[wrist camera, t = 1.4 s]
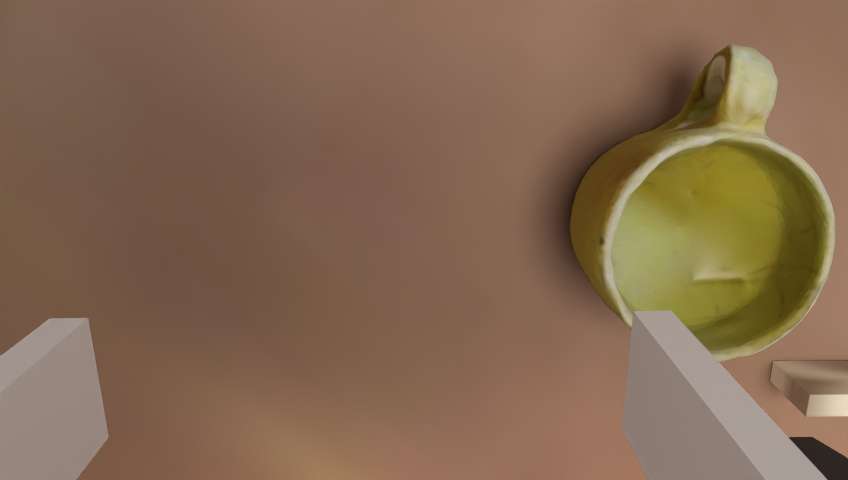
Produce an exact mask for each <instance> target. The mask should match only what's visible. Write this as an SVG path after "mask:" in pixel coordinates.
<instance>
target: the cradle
mask: <svg viewBox="0 0 848 480" xmlns="http://www.w3.org/2000/svg"><path fill="white" fill-rule="evenodd" d="M770 382H771V383H772V384H773V385H774V386H775V387H776V388H777V389H778V390H779V391H780V392H781V393H782V394H783V395H785V396H786V397H787V398H788V399H789V400H790V401H791V402H792V403H793V404H794V405H795V406H796V407H797V408H798V409H799V410H800V411H801V412H802V413H803V414H804V415H805V416H848V361H773V365H772V371H771V377H770Z"/></svg>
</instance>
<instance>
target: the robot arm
mask: <svg viewBox="0 0 848 480" xmlns="http://www.w3.org/2000/svg"><path fill="white" fill-rule="evenodd" d="M622 431H623V433H624V435H625V437H626V439H627V441H628V442H629V444H630V446H631V448H632V450H633V452H634V454H635V456H636V458H637V460H638V462H639V464H640V466H641V467H642V469H643V471H644V473H645V475H646V477H647V479H648V480H848V459H847V458H846V457H845V456H843V455H842V454H840V453H838V452H837V451H835V450H833V449H832V448H830V447H828V446H826V445H825V444H823V443H821V442H820V441H818V440H816V439H815V438H813V437H788V436H787V435H786V434H785V433H784V432H783V431H782V430H781V429H780V428H779V427H778V426H777V425H776V424H775V422H774V421H773V420H772V419H771V418H770V417H769V416H768V415H767V414H766V413H765V412H764V411H763V409H762V408H761V407H760V406H759V405H758V404H757V403H756V402H755V401H754V400H753V399H752V398H751V396H750V395H749V394H748V393H747V392H746V391H745V390H744V389H743V388H742V387H741V386H740V385H739V383H738V382H737V381H736V380H735V379H734V378H733V377H732V376H731V375H730V374H729V373H728V372H727V371H726V369H725V368H724V367H723V366H722V365H721V364H720V363H719V362H718V361H717V360H716V359H715V358H714V356H713V355H712V354H711V353H710V352H709V351H708V350H707V349H706V348H705V347H704V346H703V345H702V343H701V342H700V341H699V340H698V339H697V338H696V337H695V336H694V335H693V334H692V333H691V332H690V330H689V329H688V328H687V327H686V326H685V325H684V324H683V323H682V322H681V321H680V320H679V319H678V318H677V316H676V315H675V314H674V313H673V312H672V311H633V318H632V329H631V340H630V352H629V363H628V374H627V385H626V396H625V407H624V418H623V429H622ZM108 438H109V436H108V430H107V424H106V418H105V413H104V407H103V401H102V395H101V390H100V384H99V378H98V372H97V366H96V361H95V355H94V349H93V343H92V337H91V332H90V326H89V320H88V318H50V319H48V320H47V321H46V322H44V323H43V324H42V325H40V326H39V327H38V328H36V329H35V330H34V331H33V332H31V333H30V334H29V335H27V336H26V337H25V338H23V339H22V340H21V341H19V342H18V343H17V344H16V345H14V346H13V347H12V348H10V349H9V350H8V351H6V352H5V353H4V354H2V355H1V356H0V480H76V479H77V478H78V477H79V475H80V474H81V473H82V472H83V470H84V469H85V468H86V466H87V465H88V464H89V462H90V461H91V460H92V459H93V457H94V456H95V455H96V453H97V452H98V451H99V449H100V448H101V447H102V446H103V444H104V443H105V442H106V440H107V439H108Z"/></svg>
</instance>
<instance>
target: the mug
mask: <svg viewBox="0 0 848 480" xmlns="http://www.w3.org/2000/svg"><path fill="white" fill-rule="evenodd" d="M777 85H778V81H777V77H776V75H775V73H774V69H773V65H772V63H771V62H770V61H769V60H768V59H766V58H765V57H764V56H763V55H762V54H760V53H759V52H758V51H757V50H756V49H753V48H750V47H746V46H740V45H733V44H731V45H728V46H727V47H726V48H724V49H723V50H721V51H720V52H718V53H716V54H715V55H714V57H713V59H712V60H711V61H710V62H709V63H708V65H706V66H705V68H704V70H703V71H702V73H701V75H700V76H699V78H698V79H697V81H696V82H695V84H694V85H693V86H692V88H691V92H690V96H689V98H688V99H687V101H686V103H685V104H684V106H683V110H682V111H681V112H680V113H679V114H678V116H676V117H674V118H673V119H671V120H669V121H668V122H666V123H665V124H663V125H661V126H659V127H658V128H656V129H654V130H651V131H648V132H645V133H643V134H639V135H636V136H633V137H632V138H630V139H628V140H626V141H624V142H622V143H620V144H618V145H616V146H615V147H613V148H612V149H610V150H609V151H607V152H606V153H604V154H603V155H602V156H600V158H599V159H598V160H597V161H596V162H595V163H594V164H593V165H592V166H591V167H590V168H589V170H588V171H587V172H586V174H585V176H584V177H583V179H582V181H581V183H580V185H579V187H578V190H577V192H576V195H575V199H574V203H573V207H572V213H571V219H570V235H571V241H572V245H573V249H574V252H575V255H576V258H577V260H578V262H579V264H580V266H581V268H582V269H583V271H584V272H585V274H586V276H587V277H588V279H589V281H590V282H591V284H592V285H593V287H594V289H595V291H596V292H597V294H598V295H599V296H600V297H601V298H602V300H603V301H604V302H605V304H606V305H607V306H608V307H609V308H610V309H611V310H612V311H613V312H614V313H615V314H616V315H618V316H619V317H620V318H621V319H622V320H623V321H624V322H625V324H626V325H627V326H628V327H629V328H630V329H632V318H633V311H672V312H673V313H674V314H675V315H676V316H677V318H678V319H679V320H680V321H681V322H682V323H683V324H684V325H685V326H686V327H687V328H688V329H689V330H690V332H691V333H692V334H693V335H694V336H695V337H696V338H697V339H698V340H699V341H700V342H701V343H702V345H703V346H704V347H705V348H706V349H707V350H708V351H709V352H710V353H711V354H712V355H713V356H714V358H715V359H716V360H717V361H718V362H722V361H727V360H730V359H733V358H737V357H746V356H750V355H753V354H756V353H758V352H760V351H762V350H764V349H766V348H767V347H769V346H771V345H772V344H774V343H775V342H777V341H778V340H779V339H781V338H782V337H783V336H785V335H786V334H787V333H789V332H790V331H791V330H792V329H793V328H794V327H795V326H796V325H798V324H799V323H800V322H801V320H802V319H803V318H804V317H805V315H806V314H807V313H808V311H809V310H810V309H811V307H812V306H813V305H814V303H815V302H816V300H817V298H818V296H819V294H820V292H821V290H822V288H823V286H824V284H825V282H826V280H827V278H828V275H829V271H830V267H831V263H832V259H833V253H834V245H835V217H834V212H833V207H832V204H831V201H830V199H829V197H828V194H827V192H826V190H825V188H824V186H823V184H822V182H821V180H820V178H819V177H818V175H817V174H816V172H815V171H814V170H813V169H812V168H811V167H810V166H809V165H808V164H807V163H806V162H805V161H804V160H803V159H802V158H801V157H799V156H798V155H796V154H795V153H794V152H792V151H791V150H789V149H788V148H786V147H784V146H782V145H780V144H779V143H777V142H775V141H773V140H772V139H770V138H769V137H768V136H767V135H766V134H765V130H764V128H765V123H766V121H767V118H768V116H769V113H770V111H771V110H772V108H773V106H774V102H775V98H776V91H777Z"/></svg>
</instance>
